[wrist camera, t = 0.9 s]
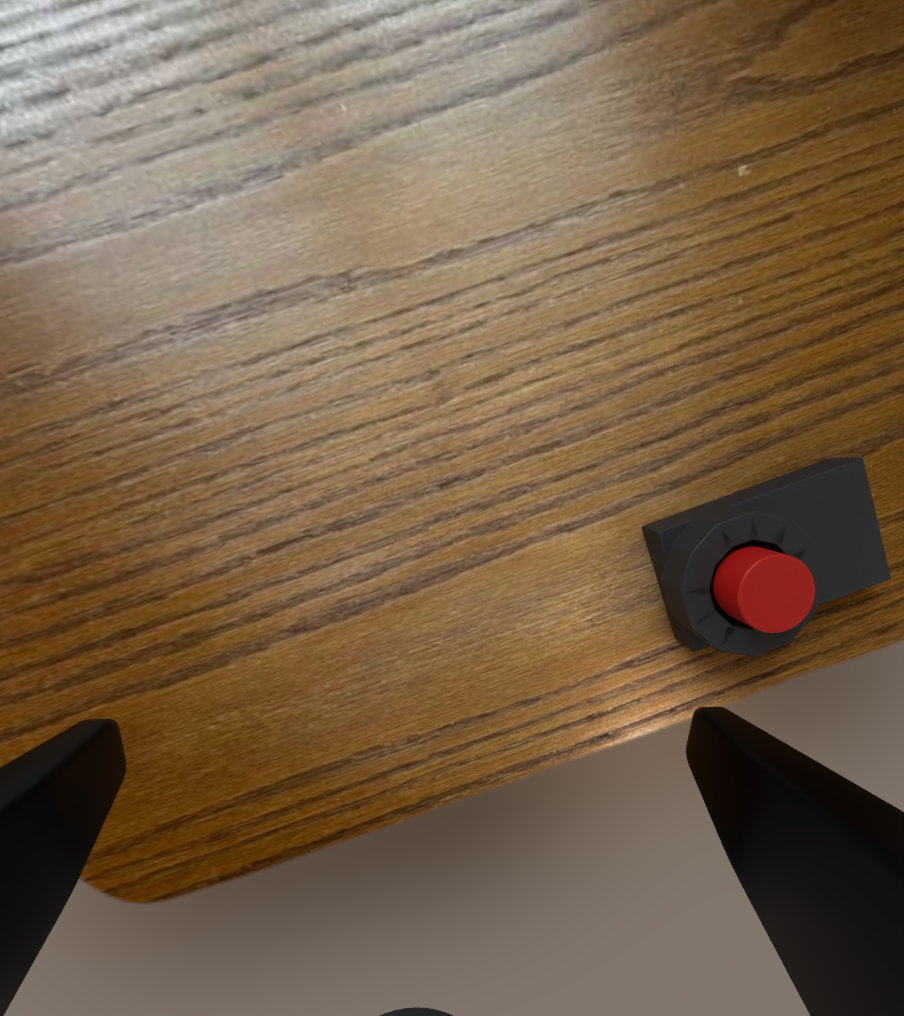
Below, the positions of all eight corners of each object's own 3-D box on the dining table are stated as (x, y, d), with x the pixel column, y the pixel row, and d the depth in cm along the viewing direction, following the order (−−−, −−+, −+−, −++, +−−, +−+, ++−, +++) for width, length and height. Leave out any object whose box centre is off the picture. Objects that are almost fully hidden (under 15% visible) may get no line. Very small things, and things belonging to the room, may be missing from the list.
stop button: (722, 629, 21) (750, 645, 20) (703, 560, 21) (729, 570, 19) (791, 604, 21) (824, 617, 20) (773, 535, 21) (805, 542, 19)
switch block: (664, 643, 25) (705, 675, 21) (629, 529, 24) (666, 542, 20) (859, 571, 25) (932, 590, 21) (831, 456, 24) (902, 456, 21)
